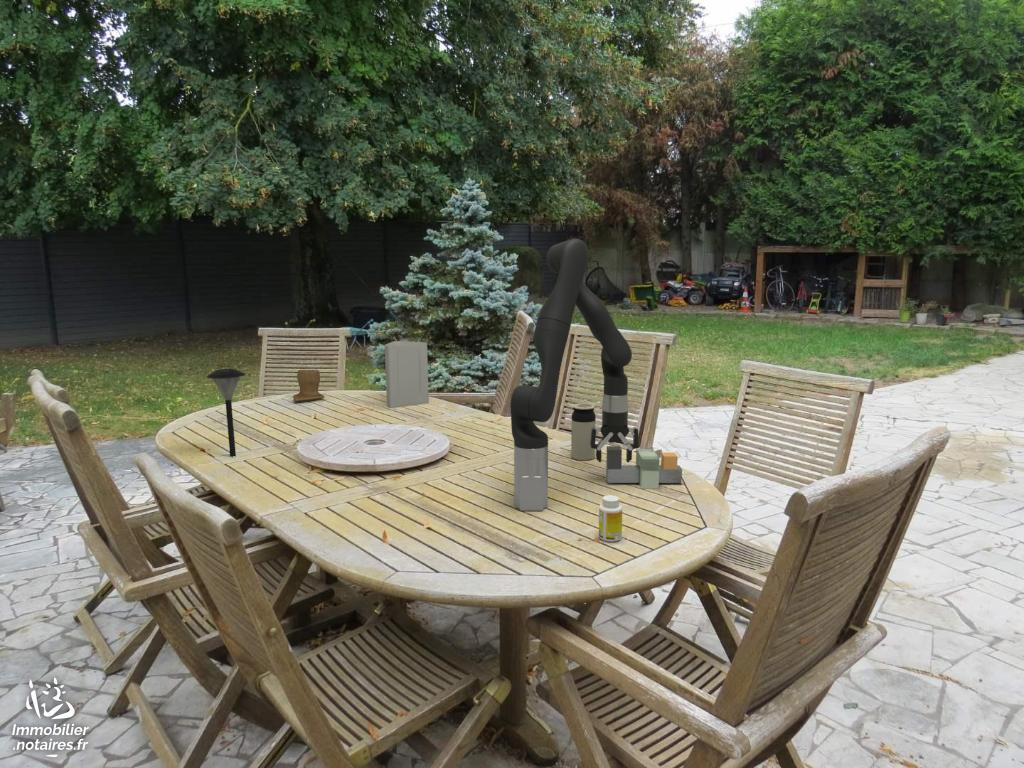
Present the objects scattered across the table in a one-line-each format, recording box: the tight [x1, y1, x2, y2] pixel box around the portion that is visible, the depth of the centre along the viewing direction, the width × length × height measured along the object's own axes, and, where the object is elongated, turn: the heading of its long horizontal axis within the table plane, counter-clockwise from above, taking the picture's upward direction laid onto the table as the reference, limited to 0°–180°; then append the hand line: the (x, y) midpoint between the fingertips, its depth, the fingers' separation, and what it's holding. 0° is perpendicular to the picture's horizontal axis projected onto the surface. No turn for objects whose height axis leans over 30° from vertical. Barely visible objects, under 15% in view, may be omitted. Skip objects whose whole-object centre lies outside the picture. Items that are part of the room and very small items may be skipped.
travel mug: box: [570, 402, 597, 461], centre depth 231 cm, size 8×8×18 cm
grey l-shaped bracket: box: [605, 445, 683, 484], centre depth 206 cm, size 4×22×10 cm, turn 89°
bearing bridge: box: [635, 448, 661, 490], centre depth 206 cm, size 11×5×9 cm, turn 179°
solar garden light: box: [206, 368, 246, 457], centre depth 233 cm, size 12×12×30 cm
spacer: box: [660, 452, 678, 469], centre depth 206 cm, size 4×4×4 cm
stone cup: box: [292, 369, 325, 403], centre depth 325 cm, size 15×12×15 cm
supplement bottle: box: [598, 494, 623, 543], centre depth 166 cm, size 6×6×10 cm
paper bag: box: [384, 340, 430, 409], centre depth 317 cm, size 19×15×28 cm
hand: (613, 461), depth 206 cm, fingers open, 8 cm apart
